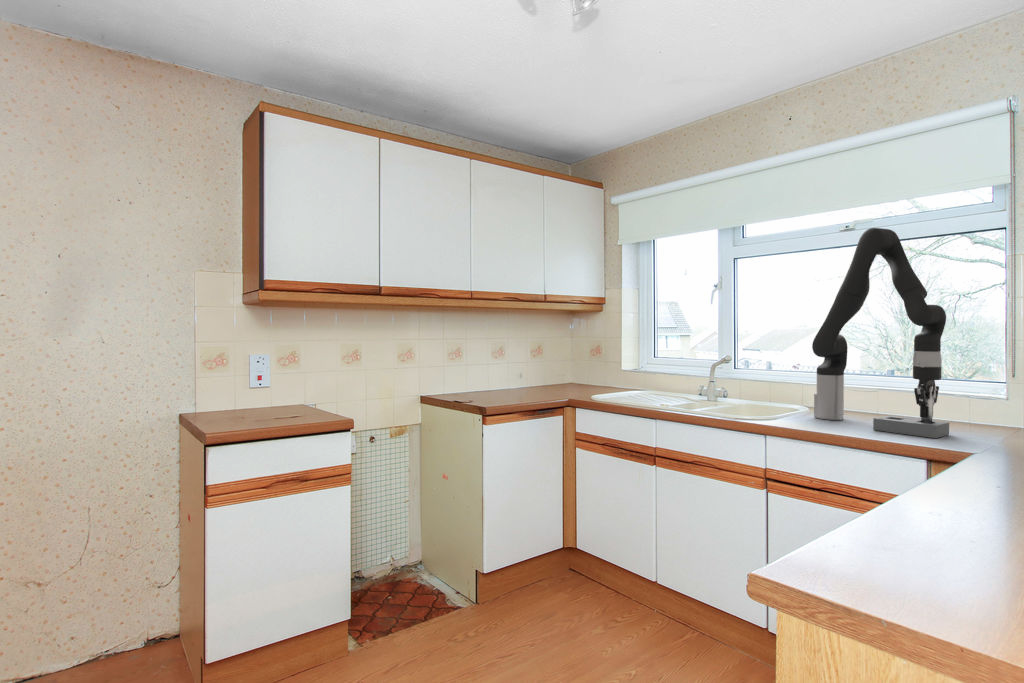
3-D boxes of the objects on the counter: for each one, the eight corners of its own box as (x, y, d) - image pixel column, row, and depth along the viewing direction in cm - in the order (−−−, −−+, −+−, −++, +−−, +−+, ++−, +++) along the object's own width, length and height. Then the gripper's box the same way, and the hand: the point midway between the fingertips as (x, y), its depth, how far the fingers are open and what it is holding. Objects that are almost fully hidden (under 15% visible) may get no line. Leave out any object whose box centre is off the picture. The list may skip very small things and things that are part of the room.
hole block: (873, 429, 188) (873, 418, 188) (887, 426, 194) (887, 415, 194) (935, 438, 173) (936, 425, 173) (949, 434, 179) (949, 422, 179)
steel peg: (919, 423, 180) (919, 396, 180) (923, 422, 182) (923, 395, 181) (930, 424, 177) (930, 396, 177) (933, 423, 179) (934, 396, 179)
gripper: (922, 363, 186) (921, 413, 187) (904, 365, 178) (904, 417, 179) (949, 364, 180) (948, 416, 180) (932, 366, 172) (931, 420, 173)
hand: (926, 416), depth 180 cm, fingers closed on steel peg, 3 cm apart
